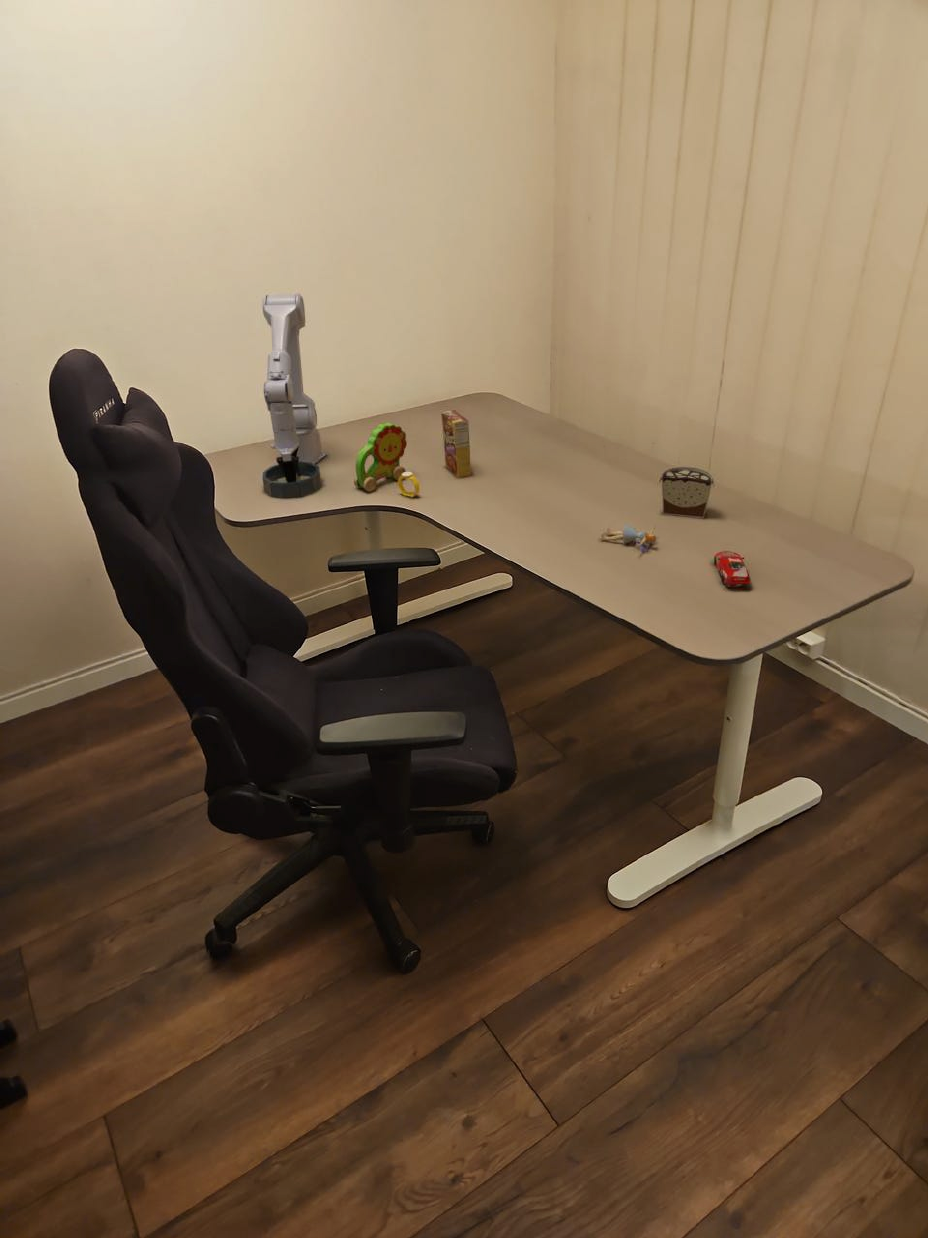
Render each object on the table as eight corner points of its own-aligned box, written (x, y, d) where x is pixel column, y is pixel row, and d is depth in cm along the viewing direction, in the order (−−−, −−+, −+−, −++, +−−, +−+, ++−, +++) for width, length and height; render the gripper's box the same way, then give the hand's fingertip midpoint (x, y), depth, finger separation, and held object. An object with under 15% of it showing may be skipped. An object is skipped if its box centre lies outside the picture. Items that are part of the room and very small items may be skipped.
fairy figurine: (614, 513, 201) (665, 518, 195) (615, 532, 204) (665, 537, 197) (593, 533, 193) (645, 539, 187) (594, 553, 195) (645, 559, 189)
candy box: (443, 466, 238) (440, 411, 230) (458, 463, 239) (456, 409, 231) (456, 478, 231) (453, 422, 223) (471, 475, 232) (469, 419, 224)
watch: (422, 496, 222) (420, 474, 219) (415, 500, 220) (413, 478, 217) (404, 491, 225) (402, 469, 222) (396, 495, 224) (395, 473, 220)
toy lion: (367, 494, 225) (360, 437, 216) (353, 488, 228) (347, 432, 220) (413, 475, 234) (409, 420, 226) (400, 470, 237) (395, 415, 229)
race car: (711, 559, 188) (713, 543, 186) (737, 559, 188) (739, 542, 186) (723, 590, 177) (725, 573, 175) (751, 590, 177) (753, 573, 175)
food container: (713, 508, 210) (717, 468, 204) (710, 519, 205) (715, 478, 199) (660, 502, 213) (663, 463, 208) (656, 513, 208) (659, 473, 203)
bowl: (283, 472, 239) (281, 458, 237) (331, 478, 234) (329, 464, 232) (254, 494, 228) (251, 479, 226) (303, 500, 223) (301, 486, 221)
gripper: (268, 418, 228) (276, 468, 235) (266, 438, 216) (275, 489, 223) (296, 416, 229) (303, 465, 236) (296, 435, 217) (303, 486, 224)
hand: (291, 477), depth 230 cm, fingers open, 6 cm apart
